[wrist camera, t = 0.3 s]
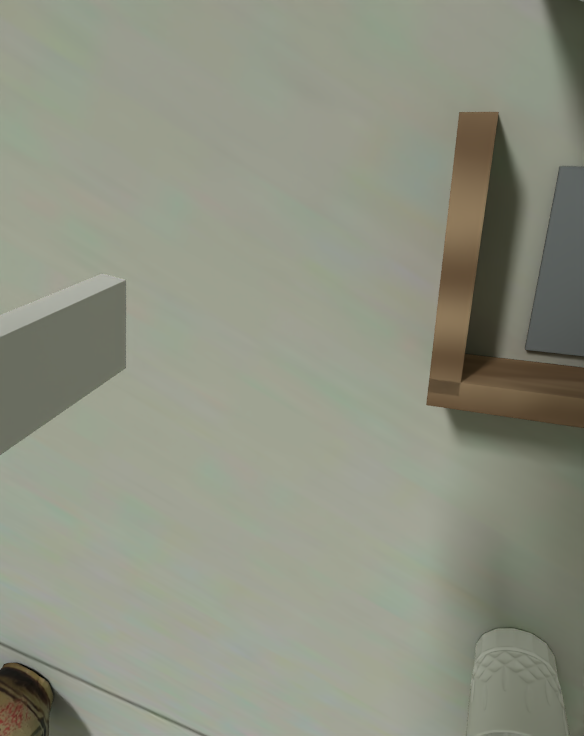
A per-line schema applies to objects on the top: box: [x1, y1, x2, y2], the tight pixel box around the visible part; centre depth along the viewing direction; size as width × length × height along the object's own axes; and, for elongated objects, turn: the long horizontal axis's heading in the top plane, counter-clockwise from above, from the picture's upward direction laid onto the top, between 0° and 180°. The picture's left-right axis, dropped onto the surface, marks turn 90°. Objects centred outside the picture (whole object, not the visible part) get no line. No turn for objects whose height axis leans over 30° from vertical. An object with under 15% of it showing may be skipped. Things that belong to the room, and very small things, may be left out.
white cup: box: [466, 628, 570, 736], centre depth 45 cm, size 8×8×10 cm
